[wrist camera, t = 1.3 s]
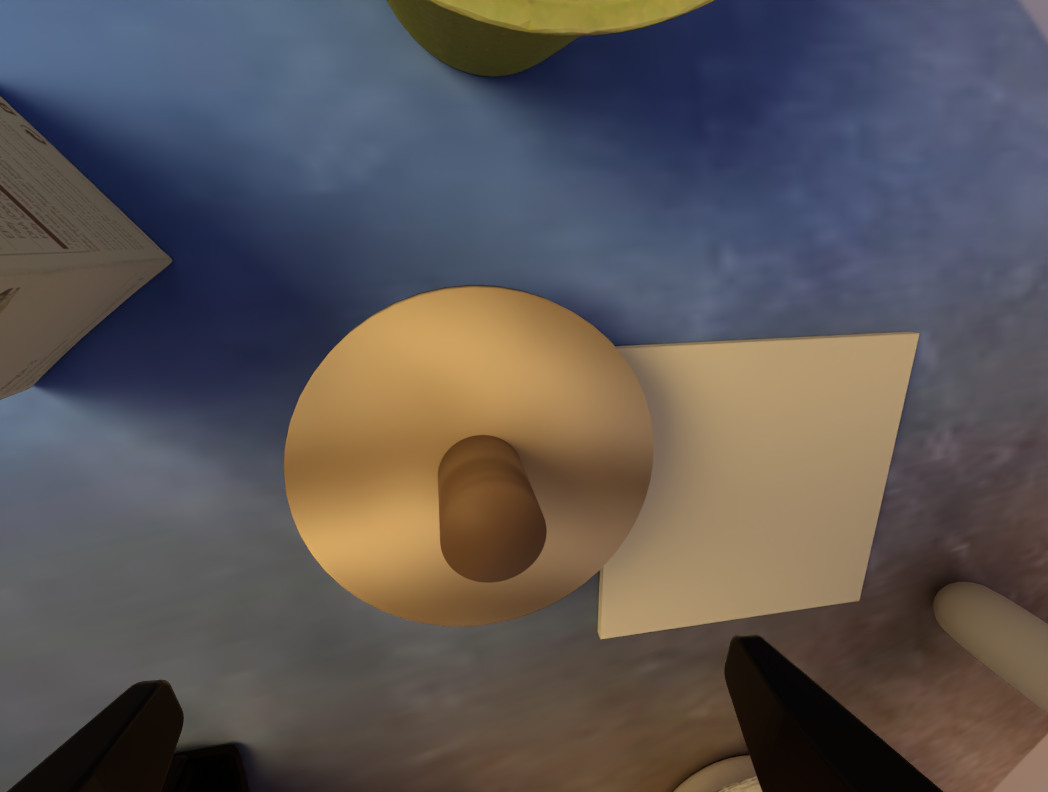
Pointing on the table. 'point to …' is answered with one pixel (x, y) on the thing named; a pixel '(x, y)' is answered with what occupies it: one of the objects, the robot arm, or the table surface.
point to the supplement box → (57, 254)
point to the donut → (997, 636)
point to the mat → (757, 477)
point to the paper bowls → (724, 777)
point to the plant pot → (522, 27)
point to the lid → (468, 456)
